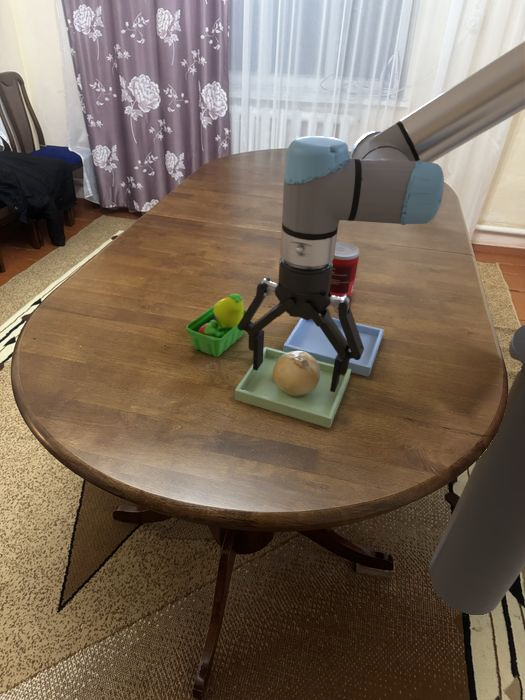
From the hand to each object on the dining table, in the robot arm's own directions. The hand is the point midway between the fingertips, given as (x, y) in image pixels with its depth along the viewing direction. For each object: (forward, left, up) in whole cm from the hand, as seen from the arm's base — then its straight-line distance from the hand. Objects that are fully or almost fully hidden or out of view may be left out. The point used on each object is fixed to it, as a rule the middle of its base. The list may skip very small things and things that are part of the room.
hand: (295, 376), depth 78 cm
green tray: (0, 0, -3) cm, 3 cm away
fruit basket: (+17, -7, -3) cm, 19 cm away
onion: (0, 0, -2) cm, 2 cm away
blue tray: (-3, -15, -3) cm, 16 cm away
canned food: (+2, -35, -3) cm, 35 cm away
